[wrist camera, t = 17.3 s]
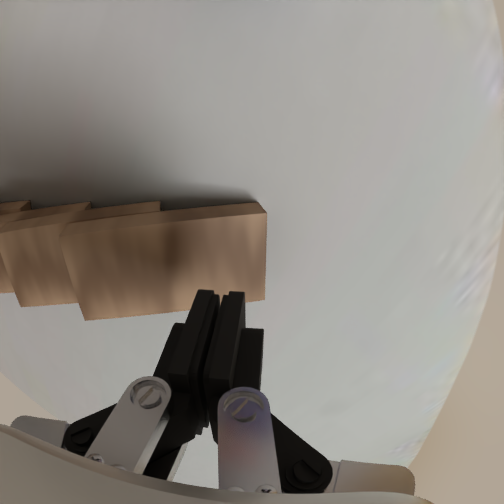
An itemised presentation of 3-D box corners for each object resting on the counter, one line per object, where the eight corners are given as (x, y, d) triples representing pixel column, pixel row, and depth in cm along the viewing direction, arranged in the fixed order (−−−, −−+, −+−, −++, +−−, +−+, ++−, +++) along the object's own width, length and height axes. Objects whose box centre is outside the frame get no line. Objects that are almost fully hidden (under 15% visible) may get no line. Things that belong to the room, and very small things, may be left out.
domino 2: (160, 200, 16) (6, 222, 14) (159, 210, 15) (-6, 234, 13) (169, 279, 19) (28, 292, 16) (170, 294, 17) (20, 306, 15)
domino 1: (258, 202, 16) (67, 223, 14) (266, 213, 15) (58, 236, 12) (257, 284, 18) (89, 303, 16) (264, 299, 17) (85, 320, 15)
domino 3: (90, 201, 17) (-29, 220, 15) (83, 210, 15) (-40, 230, 13) (104, 273, 19) (-9, 282, 17) (99, 286, 18) (-18, 293, 16)
